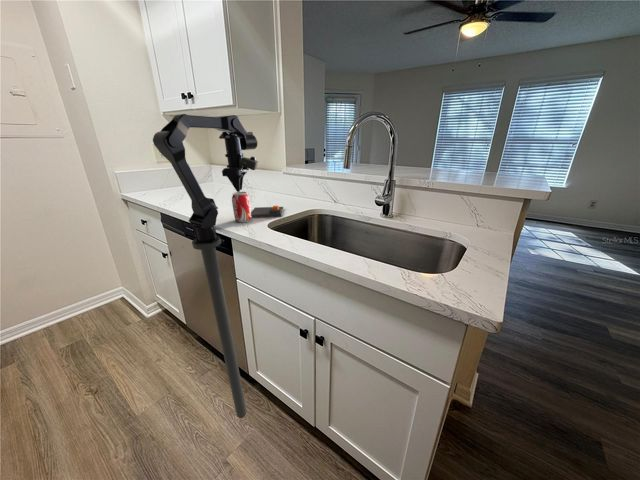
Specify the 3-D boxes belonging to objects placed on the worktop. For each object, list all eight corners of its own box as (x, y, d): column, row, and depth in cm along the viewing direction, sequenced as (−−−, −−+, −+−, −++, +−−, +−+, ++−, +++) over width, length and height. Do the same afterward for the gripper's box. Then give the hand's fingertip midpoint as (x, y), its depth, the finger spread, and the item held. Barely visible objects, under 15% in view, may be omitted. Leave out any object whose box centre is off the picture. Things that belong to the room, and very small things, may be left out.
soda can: (249, 223, 109) (245, 194, 104) (232, 223, 109) (228, 195, 104) (253, 218, 115) (250, 191, 111) (238, 218, 115) (234, 191, 111)
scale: (249, 217, 116) (249, 211, 114) (255, 210, 127) (254, 204, 126) (282, 216, 116) (281, 210, 115) (284, 209, 127) (284, 203, 126)
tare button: (272, 210, 116) (272, 207, 116) (273, 208, 119) (273, 205, 118) (278, 210, 116) (278, 207, 116) (279, 208, 119) (279, 205, 118)
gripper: (249, 152, 93) (254, 195, 99) (258, 149, 110) (262, 185, 116) (218, 152, 92) (225, 196, 98) (232, 149, 110) (237, 186, 116)
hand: (239, 190), depth 107 cm, fingers open, 3 cm apart
